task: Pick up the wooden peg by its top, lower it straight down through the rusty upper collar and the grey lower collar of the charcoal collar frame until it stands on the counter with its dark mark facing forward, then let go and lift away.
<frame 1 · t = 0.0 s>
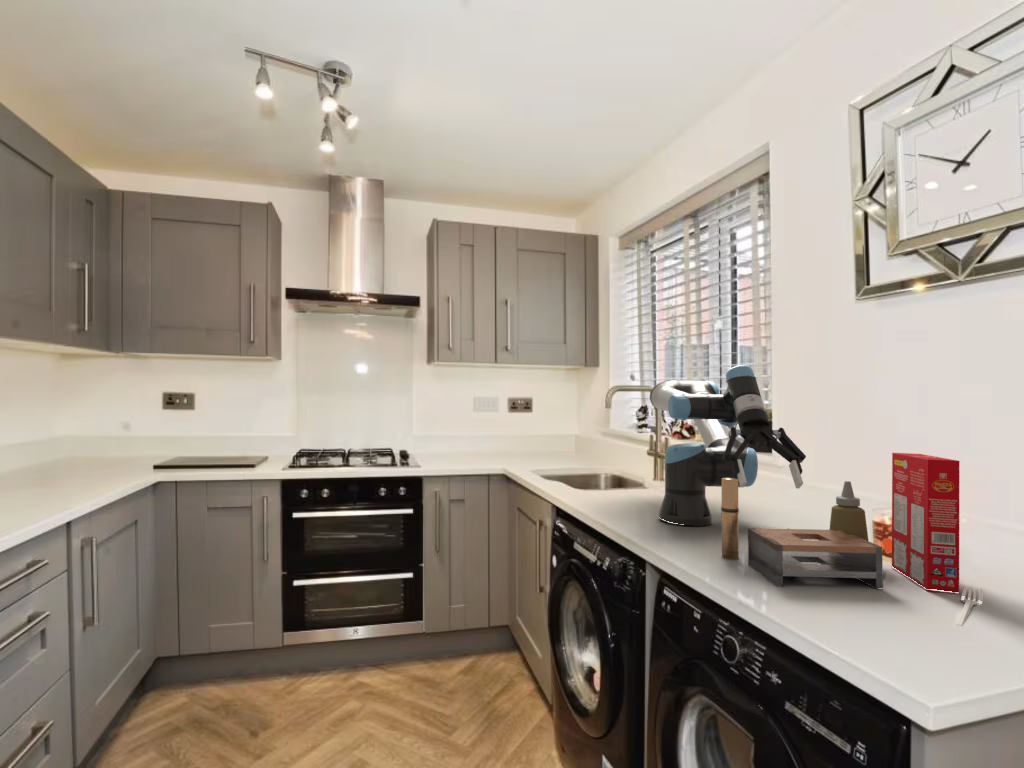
hand: (771, 485, 133), 15 cm above the countertop, tool tilted 35°, fingers open, 13 cm apart
fork: (966, 613, 93), on the countertop
squeeze bottle: (848, 562, 121), on the countertop
collar frame: (811, 576, 111), on the countertop
food packaging: (923, 580, 109), on the countertop
wooden peg: (730, 557, 124), on the countertop
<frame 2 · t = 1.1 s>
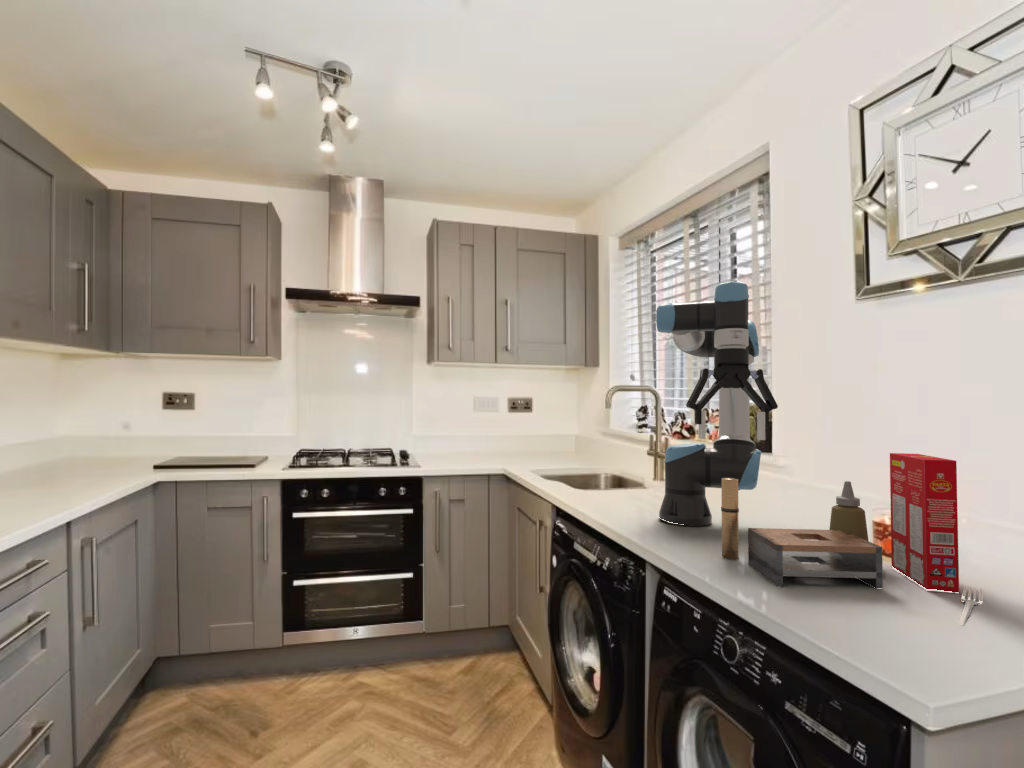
hand: (731, 439, 125), 27 cm above the countertop, tool pointing down, fingers open, 13 cm apart
nothing on the countertop moved.
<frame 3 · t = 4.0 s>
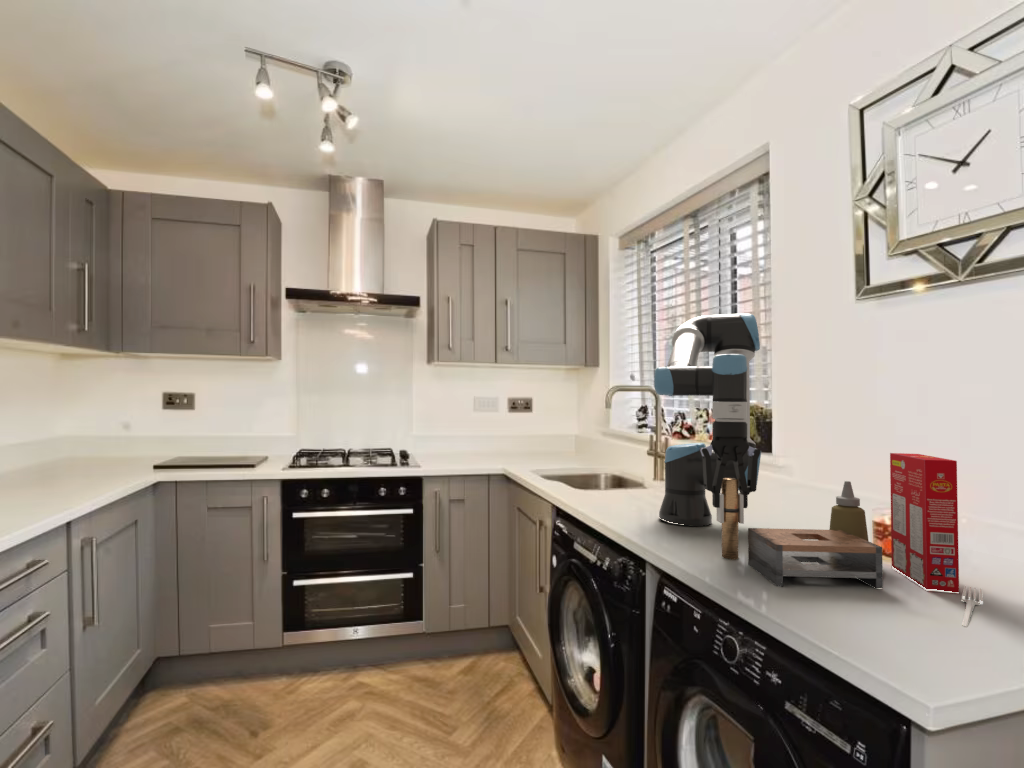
hand: (730, 521, 124), 8 cm above the countertop, tool pointing down, fingers closed on wooden peg, 4 cm apart
wooden peg: (730, 557, 124), on the countertop, touching gripper
everything else where it was.
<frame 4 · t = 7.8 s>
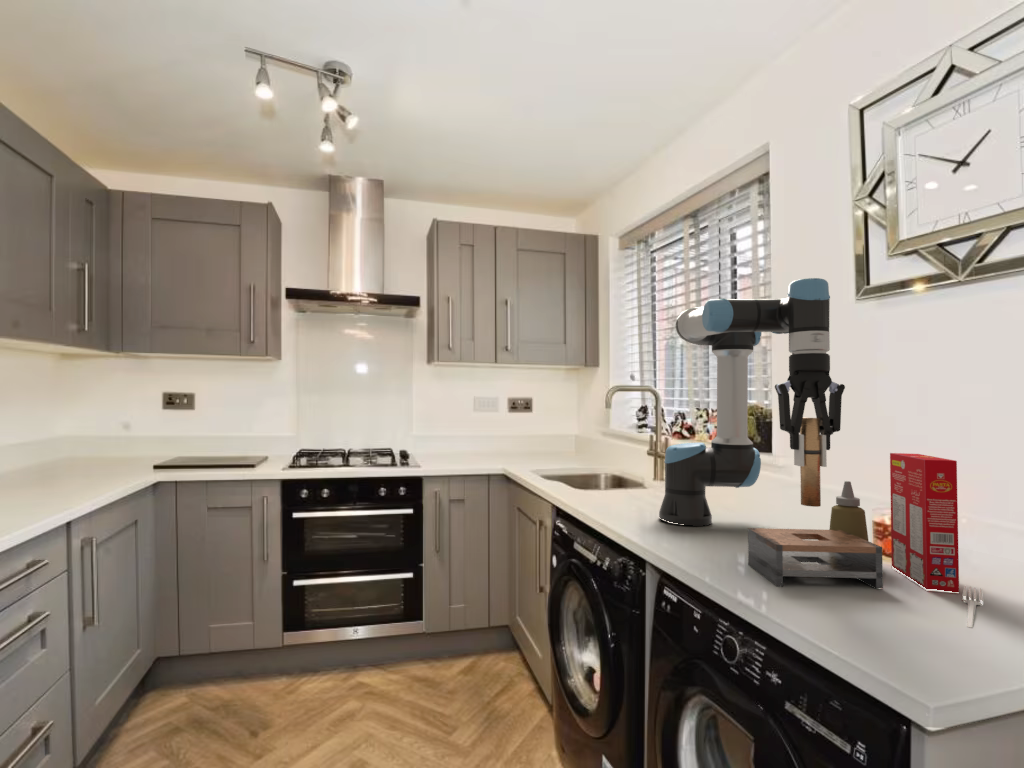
hand: (810, 465, 111), 23 cm above the countertop, tool pointing down, fingers closed on wooden peg, 4 cm apart
wooden peg: (810, 504, 111), point 15 cm above the countertop, touching gripper
everything else where it was.
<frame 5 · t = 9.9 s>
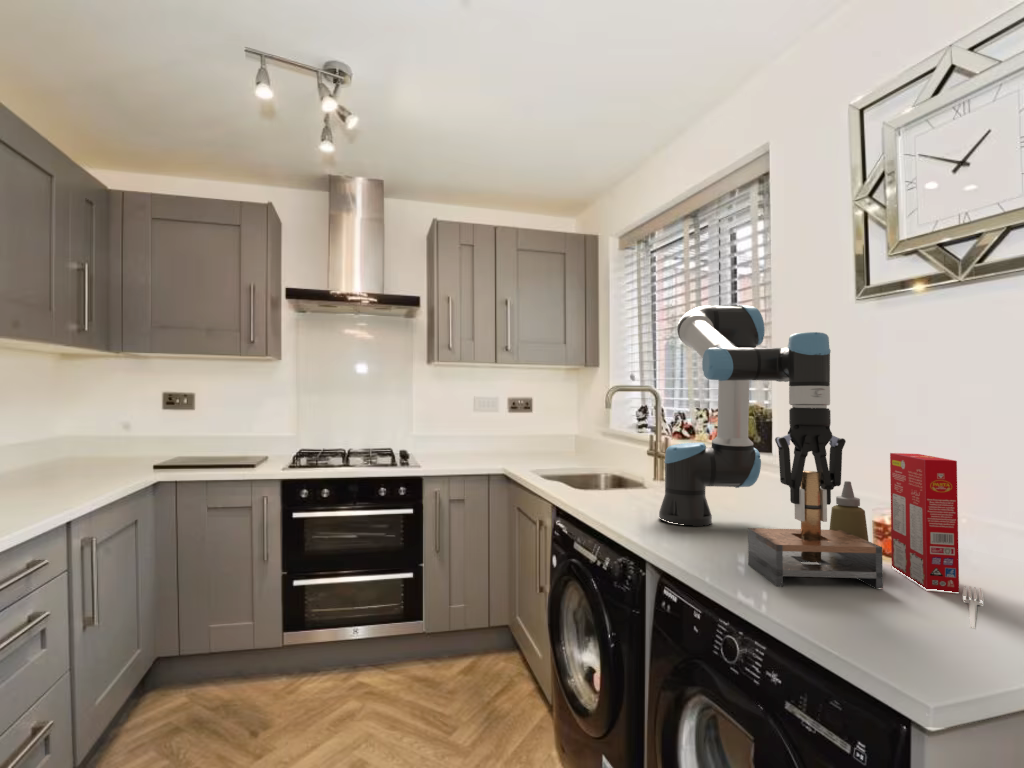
hand: (810, 519, 111), 12 cm above the countertop, tool pointing down, fingers closed on wooden peg, 4 cm apart
wooden peg: (811, 559, 111), point 3 cm above the countertop, touching gripper
everything else where it was.
when the fingers open (10 cm above the countertop, at t = 11.5 s): wooden peg drops 1 cm, on the countertop.
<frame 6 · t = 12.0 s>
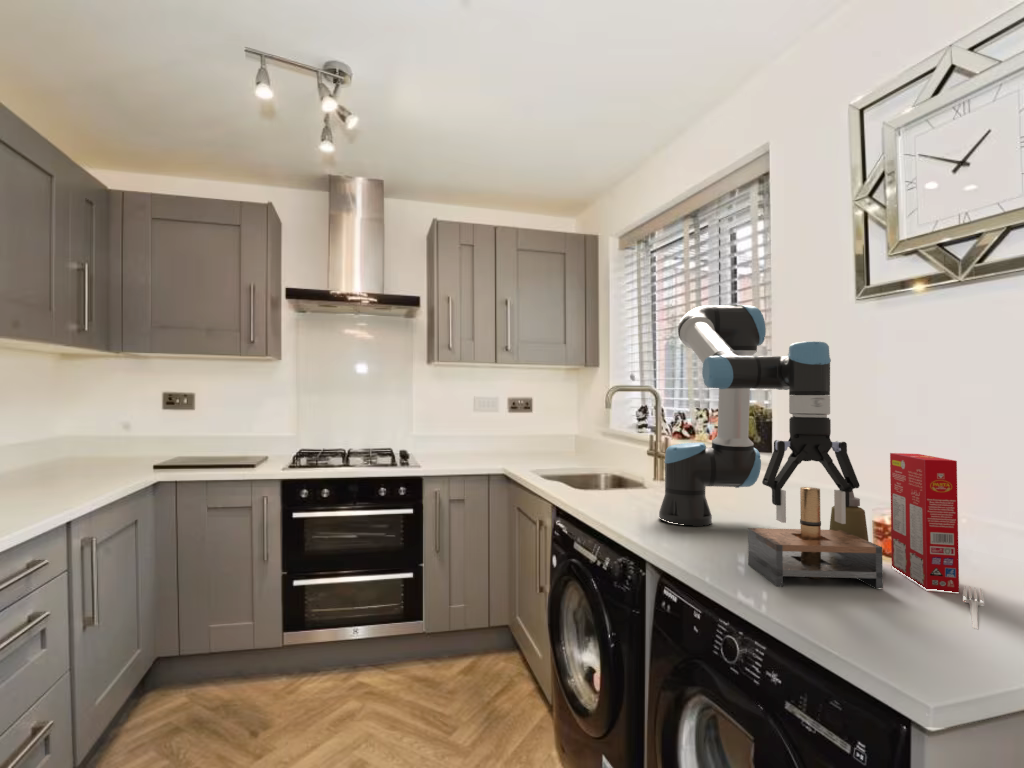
hand: (810, 521, 111), 11 cm above the countertop, tool pointing down, fingers open, 11 cm apart
wooden peg: (810, 576, 111), on the countertop
everything else where it was.
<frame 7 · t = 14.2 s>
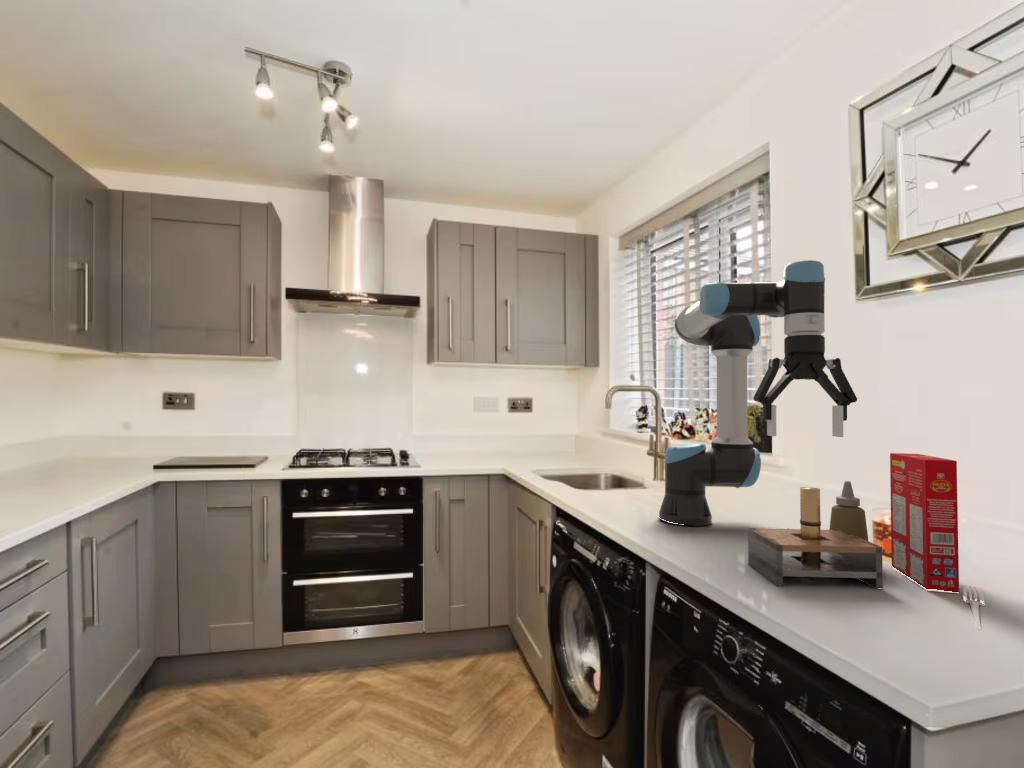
hand: (804, 436, 112), 29 cm above the countertop, tool pointing down, fingers open, 13 cm apart
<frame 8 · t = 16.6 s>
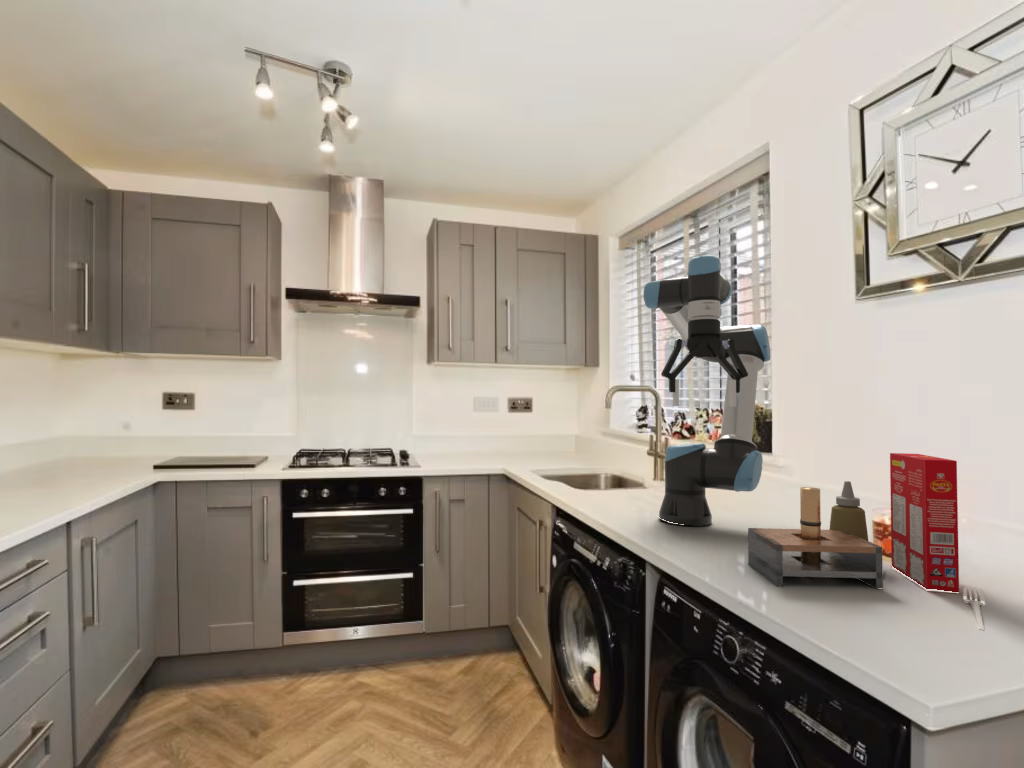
hand: (704, 406, 131), 35 cm above the countertop, tool pointing down, fingers open, 13 cm apart
at the end: wooden peg 0.0 cm off-centre on the collar frame, point 0.0 cm above the collar frame's base; wooden peg tilted 0°; the gripper is holding nothing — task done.
